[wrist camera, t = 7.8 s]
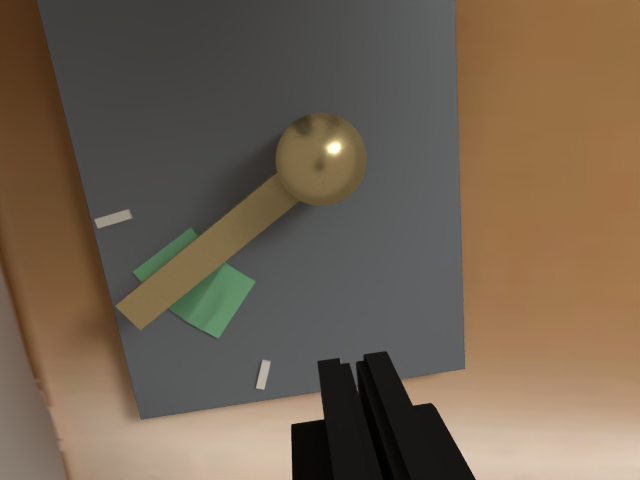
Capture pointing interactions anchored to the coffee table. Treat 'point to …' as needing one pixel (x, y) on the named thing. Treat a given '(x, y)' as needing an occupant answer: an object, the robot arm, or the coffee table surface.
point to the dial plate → (252, 169)
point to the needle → (260, 208)
